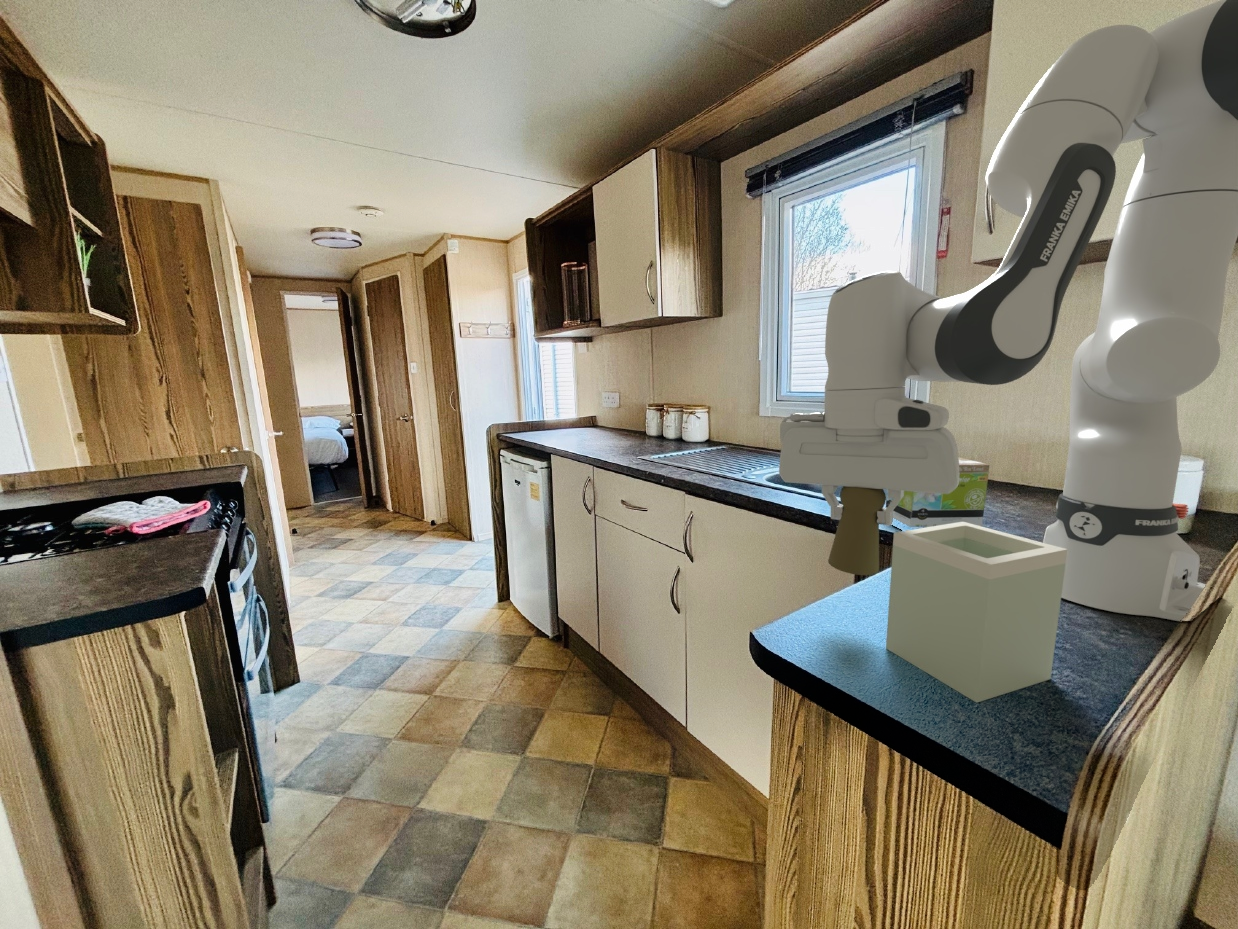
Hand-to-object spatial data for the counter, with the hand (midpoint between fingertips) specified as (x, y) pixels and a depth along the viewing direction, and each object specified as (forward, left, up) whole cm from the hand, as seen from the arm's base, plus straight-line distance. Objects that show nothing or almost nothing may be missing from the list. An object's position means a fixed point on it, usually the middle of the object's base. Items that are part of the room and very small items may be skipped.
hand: (860, 521), depth 64 cm
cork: (0, -1, -6) cm, 6 cm away
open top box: (-4, +11, -14) cm, 19 cm away
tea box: (-46, -27, -15) cm, 56 cm away
